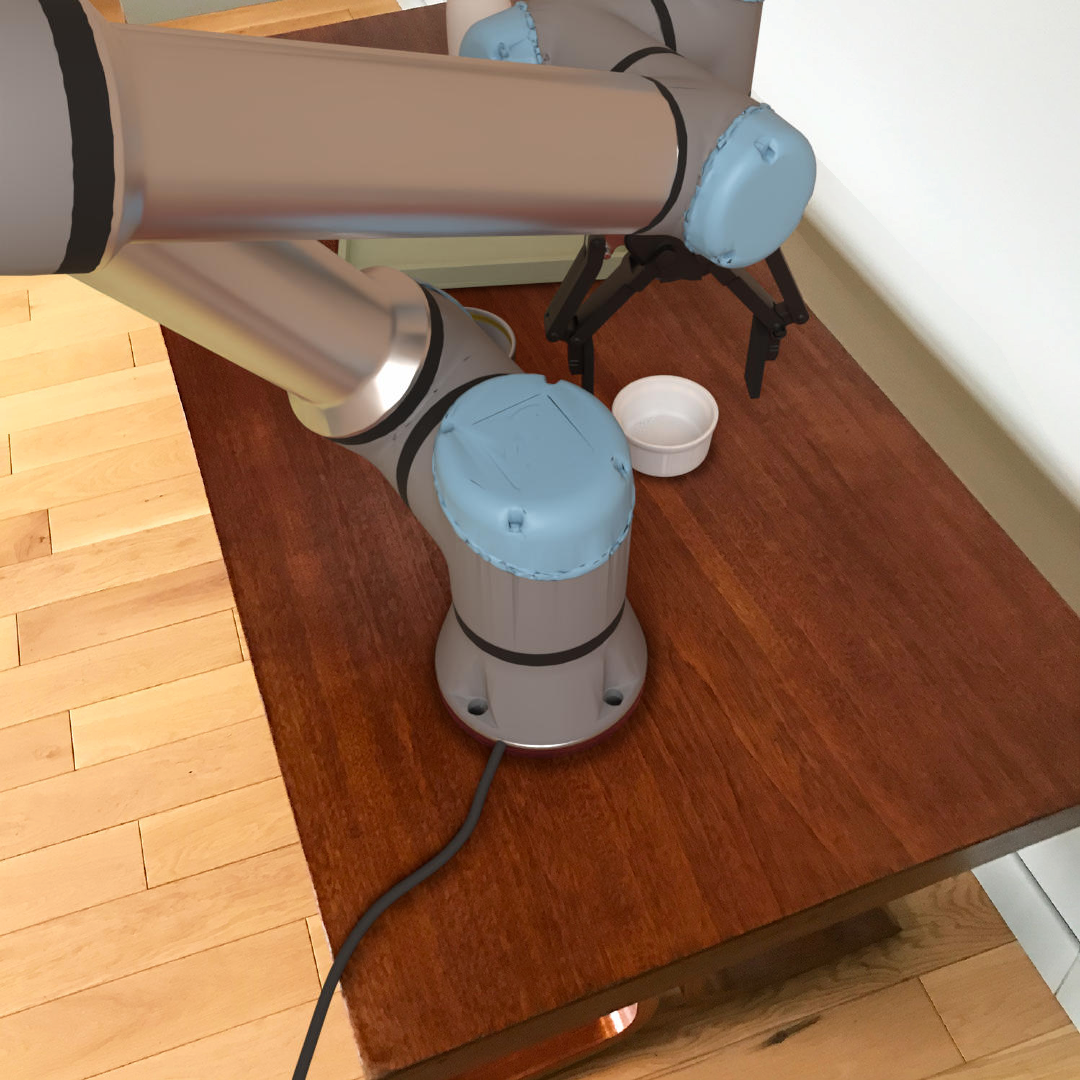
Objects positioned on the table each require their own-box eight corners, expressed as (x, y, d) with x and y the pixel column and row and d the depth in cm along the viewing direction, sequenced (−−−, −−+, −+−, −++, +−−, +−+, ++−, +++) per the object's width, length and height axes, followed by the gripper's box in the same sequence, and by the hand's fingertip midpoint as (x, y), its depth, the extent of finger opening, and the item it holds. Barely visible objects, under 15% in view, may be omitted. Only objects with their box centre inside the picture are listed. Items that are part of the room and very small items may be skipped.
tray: (635, 277, 112) (636, 255, 110) (340, 295, 111) (336, 273, 109) (617, 192, 122) (618, 170, 120) (346, 207, 121) (343, 186, 119)
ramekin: (686, 497, 92) (691, 460, 89) (592, 461, 95) (593, 423, 92) (730, 432, 97) (735, 395, 94) (638, 399, 100) (641, 362, 97)
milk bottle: (515, 122, 132) (508, -56, 117) (450, 123, 132) (435, -55, 117) (517, 90, 137) (511, -85, 122) (455, 91, 137) (440, -84, 122)
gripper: (855, 119, 78) (809, 353, 94) (501, 143, 78) (516, 374, 94) (884, 177, 73) (830, 413, 90) (507, 203, 73) (521, 436, 89)
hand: (669, 393), depth 92 cm, fingers open, 13 cm apart
